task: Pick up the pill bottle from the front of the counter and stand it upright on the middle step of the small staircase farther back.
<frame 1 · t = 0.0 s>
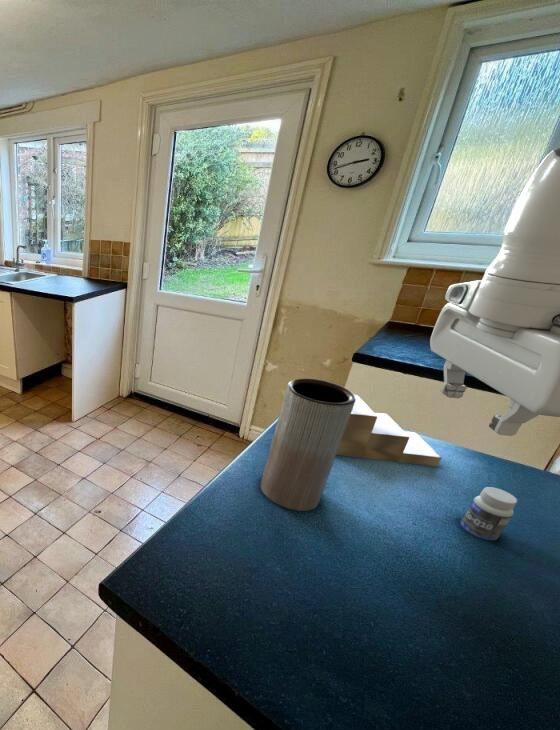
hand: (473, 412, 52), 28 cm above the worktop, tool pointing down, fingers open, 8 cm apart
planter: (287, 496, 80), on the worktop
small staircase: (368, 449, 94), on the worktop
pill bottle: (476, 533, 71), on the worktop
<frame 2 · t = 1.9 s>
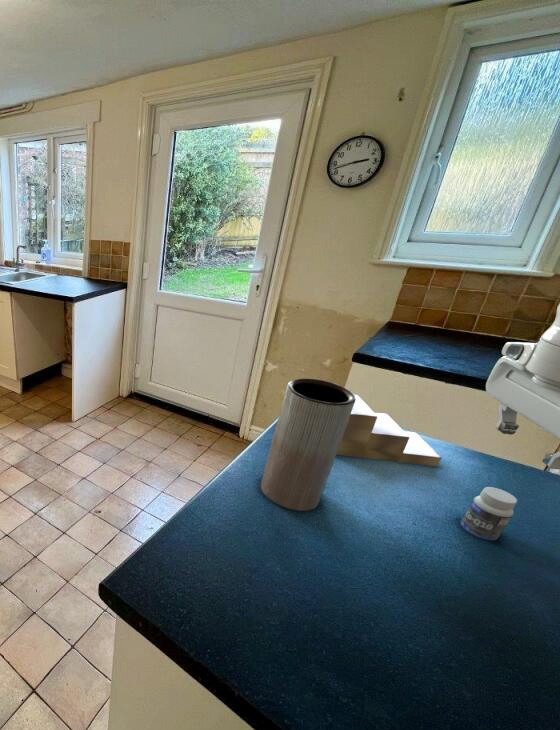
hand: (526, 448, 63), 18 cm above the worktop, tool pointing down, fingers open, 8 cm apart
nothing on the worktop moved.
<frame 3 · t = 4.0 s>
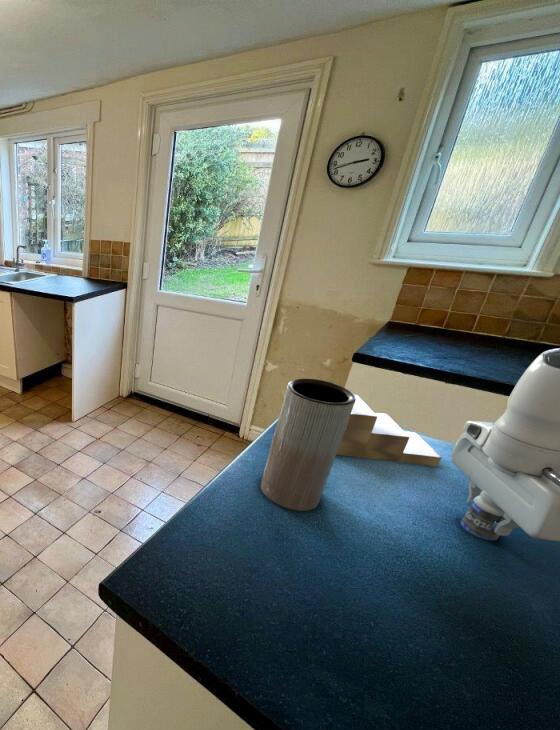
hand: (485, 518, 70), 3 cm above the worktop, tool pointing down, fingers closed on pill bottle, 5 cm apart
pill bottle: (476, 533, 71), on the worktop, touching gripper
everything else where it was.
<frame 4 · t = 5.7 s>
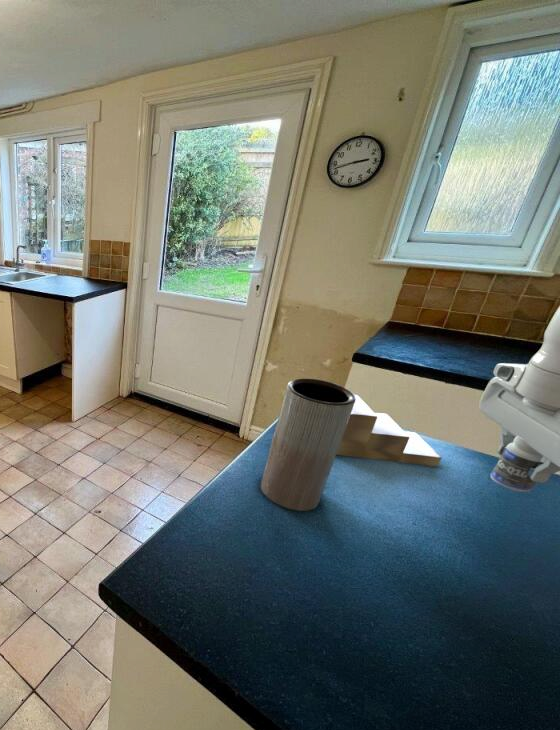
hand: (519, 467, 65), 14 cm above the worktop, tool pointing down, fingers closed on pill bottle, 5 cm apart
pill bottle: (509, 484, 66), point 11 cm above the worktop, touching gripper
everything else where it was.
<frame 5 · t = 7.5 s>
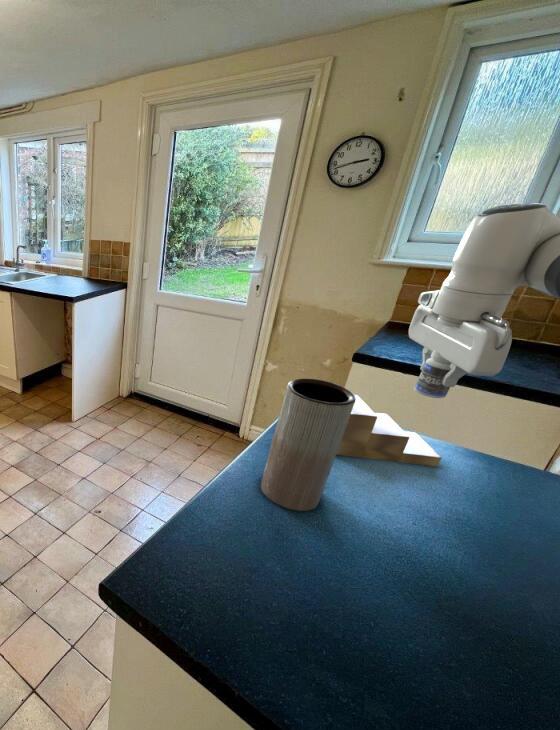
hand: (436, 378, 78), 21 cm above the worktop, tool pointing down, fingers closed on pill bottle, 5 cm apart
pill bottle: (429, 394, 79), point 18 cm above the worktop, touching gripper
everything else where it was.
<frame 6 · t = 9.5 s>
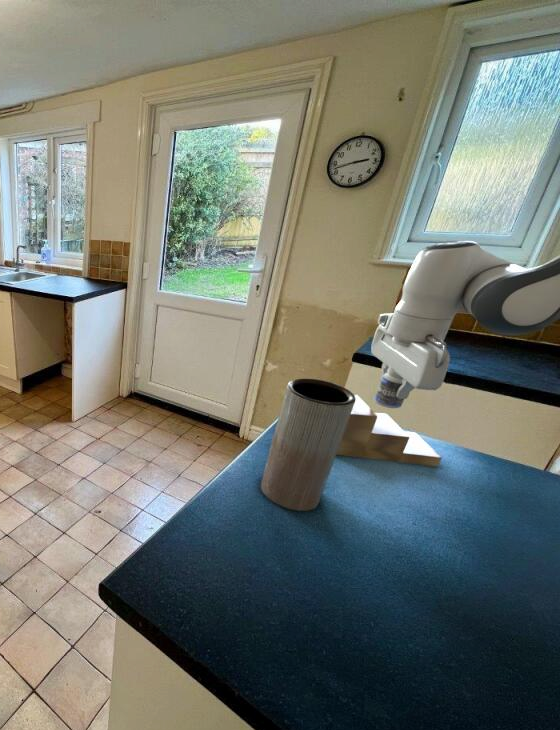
hand: (392, 390, 87), 15 cm above the worktop, tool pointing down, fingers closed on pill bottle, 5 cm apart
pill bottle: (386, 404, 89), point 12 cm above the worktop, touching gripper
everything else where it was.
when the fingers open (10 cm above the worktop, at t = 11.2 s): pill bottle stays where it is, resting on small staircase.
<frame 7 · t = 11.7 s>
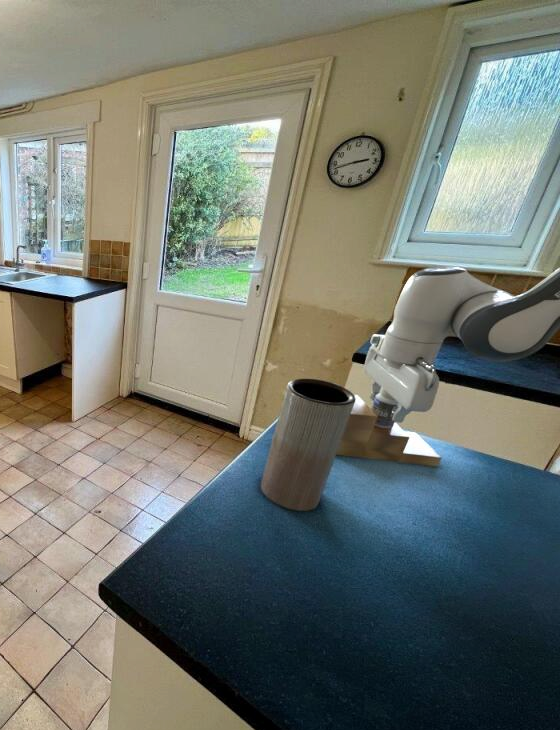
hand: (384, 409, 89), 10 cm above the worktop, tool pointing down, fingers open, 8 cm apart
pill bottle: (379, 423, 91), point 7 cm above the worktop, touching small staircase
everything else where it was.
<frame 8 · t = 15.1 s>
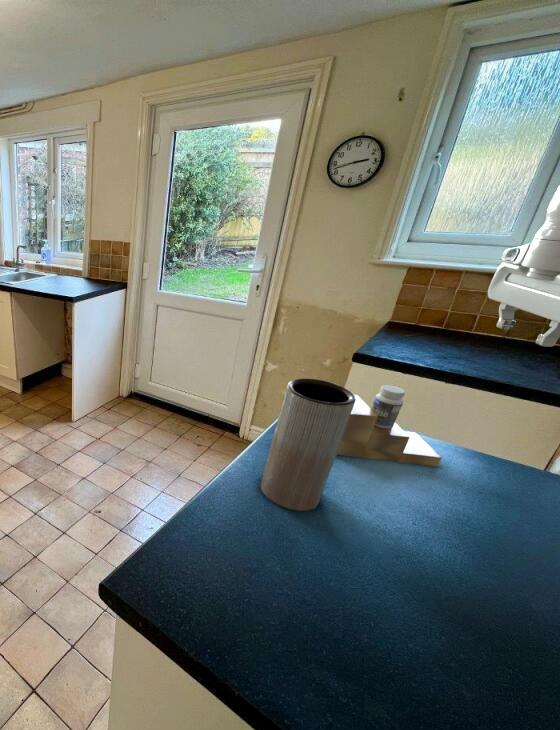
hand: (522, 336, 75), 29 cm above the worktop, tool pointing down, fingers open, 8 cm apart
nothing on the worktop moved.
at the end: pill bottle 0.1 cm off-centre on the small staircase, point 6.8 cm above the small staircase's base; pill bottle tilted 0°; the gripper is holding nothing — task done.
